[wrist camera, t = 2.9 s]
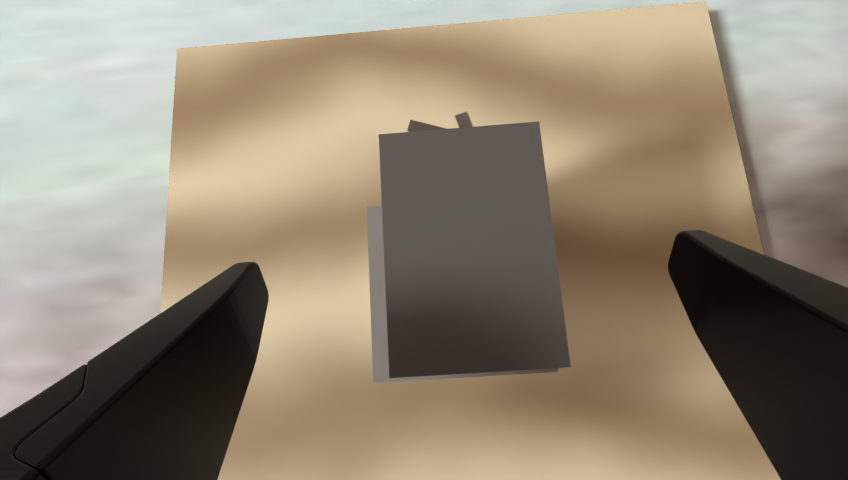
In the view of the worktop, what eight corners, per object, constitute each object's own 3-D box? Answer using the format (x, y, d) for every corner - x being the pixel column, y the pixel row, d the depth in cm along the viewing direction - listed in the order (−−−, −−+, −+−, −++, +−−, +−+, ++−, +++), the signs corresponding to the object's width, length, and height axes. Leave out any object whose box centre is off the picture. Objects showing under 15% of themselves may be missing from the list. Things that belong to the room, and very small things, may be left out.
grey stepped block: (545, 367, 16) (672, 413, 7) (381, 377, 16) (301, 434, 7) (527, 208, 17) (614, 75, 8) (374, 219, 17) (299, 102, 8)
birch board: (804, 492, 16) (839, 508, 14) (158, 524, 17) (131, 542, 15) (697, 13, 20) (716, -11, 18) (185, 59, 21) (166, 39, 19)
